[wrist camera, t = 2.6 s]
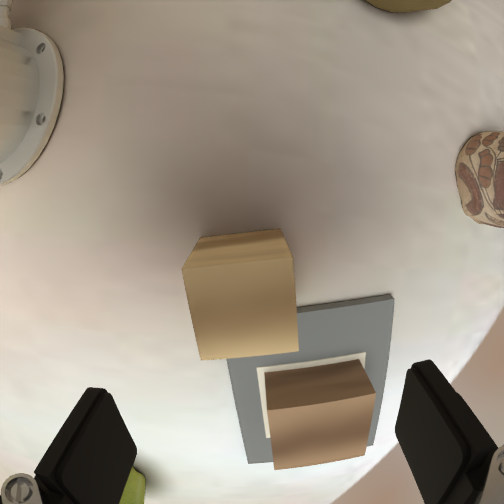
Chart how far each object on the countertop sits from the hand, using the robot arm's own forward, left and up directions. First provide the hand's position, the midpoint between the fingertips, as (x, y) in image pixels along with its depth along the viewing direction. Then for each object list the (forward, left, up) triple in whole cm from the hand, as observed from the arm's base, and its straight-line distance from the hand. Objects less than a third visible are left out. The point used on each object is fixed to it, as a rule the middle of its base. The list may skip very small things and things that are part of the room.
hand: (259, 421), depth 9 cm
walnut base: (+11, +3, -12) cm, 16 cm away
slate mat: (+11, +3, -13) cm, 17 cm away
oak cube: (0, -1, -13) cm, 13 cm away
